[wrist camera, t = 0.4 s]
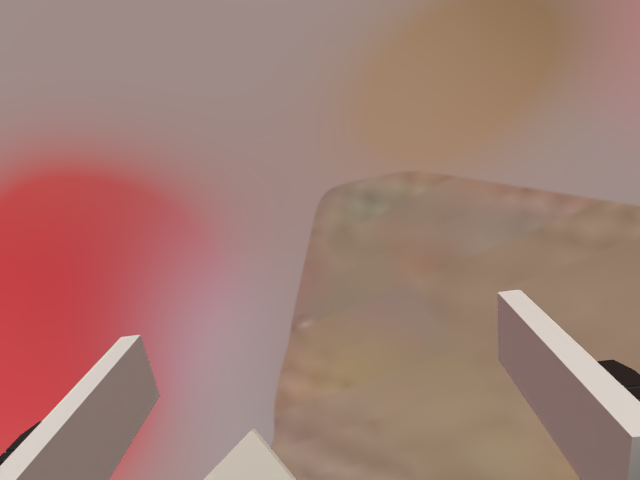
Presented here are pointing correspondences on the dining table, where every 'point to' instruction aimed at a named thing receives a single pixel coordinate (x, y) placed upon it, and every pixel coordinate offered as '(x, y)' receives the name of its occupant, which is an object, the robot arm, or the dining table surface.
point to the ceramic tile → (251, 462)
